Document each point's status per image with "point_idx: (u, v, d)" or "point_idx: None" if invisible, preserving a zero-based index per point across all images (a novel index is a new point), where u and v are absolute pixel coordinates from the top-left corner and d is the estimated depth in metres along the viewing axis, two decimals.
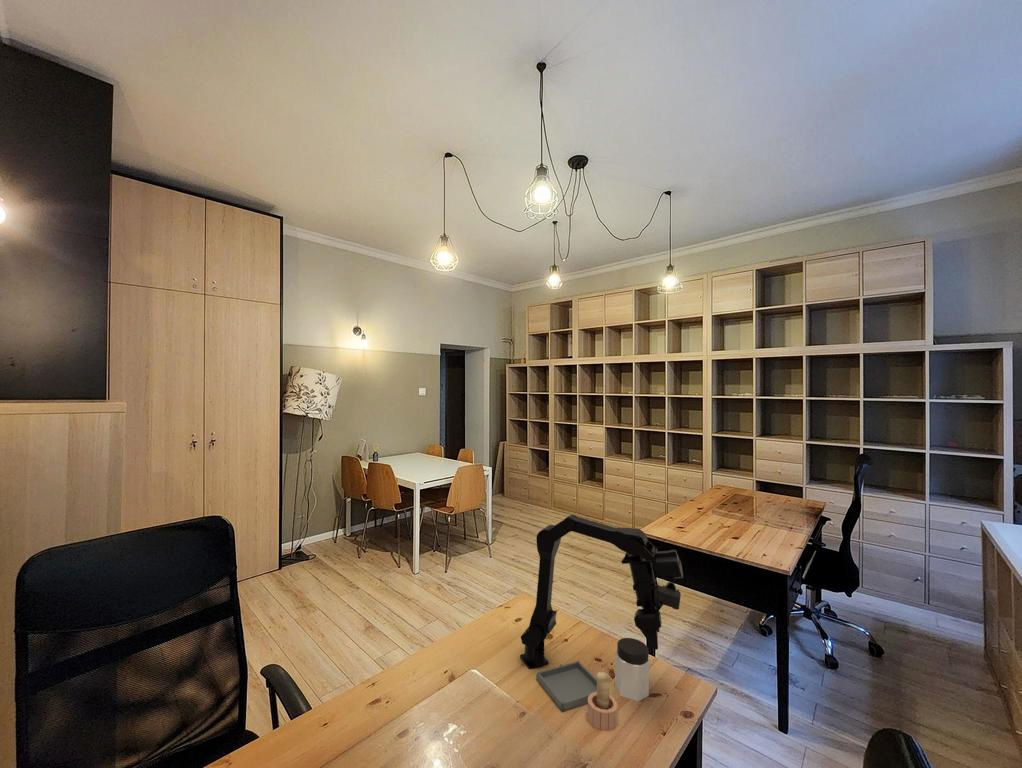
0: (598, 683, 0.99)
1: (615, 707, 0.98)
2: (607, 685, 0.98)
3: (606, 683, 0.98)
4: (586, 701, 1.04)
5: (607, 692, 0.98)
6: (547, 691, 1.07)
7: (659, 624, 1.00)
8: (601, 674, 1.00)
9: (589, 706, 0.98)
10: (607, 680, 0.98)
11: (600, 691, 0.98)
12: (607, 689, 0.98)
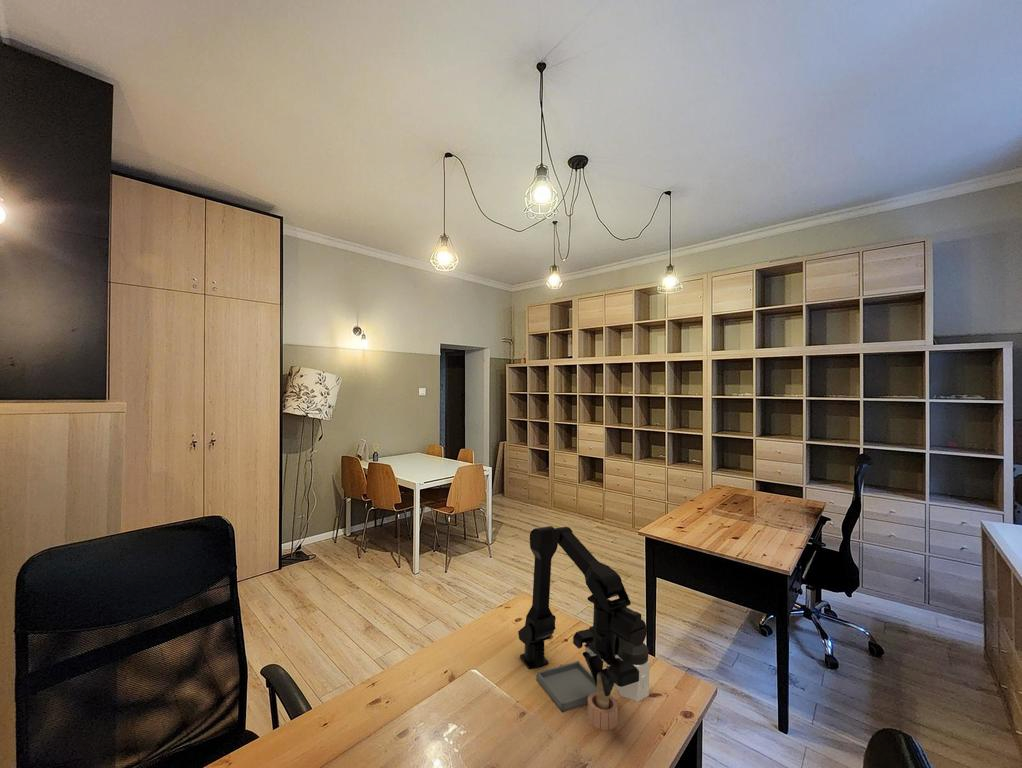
0: (598, 683, 0.99)
1: (615, 707, 0.98)
2: None
3: None
4: (586, 701, 1.04)
5: None
6: (547, 691, 1.07)
7: None
8: None
9: (589, 706, 0.98)
10: None
11: (600, 691, 0.98)
12: None
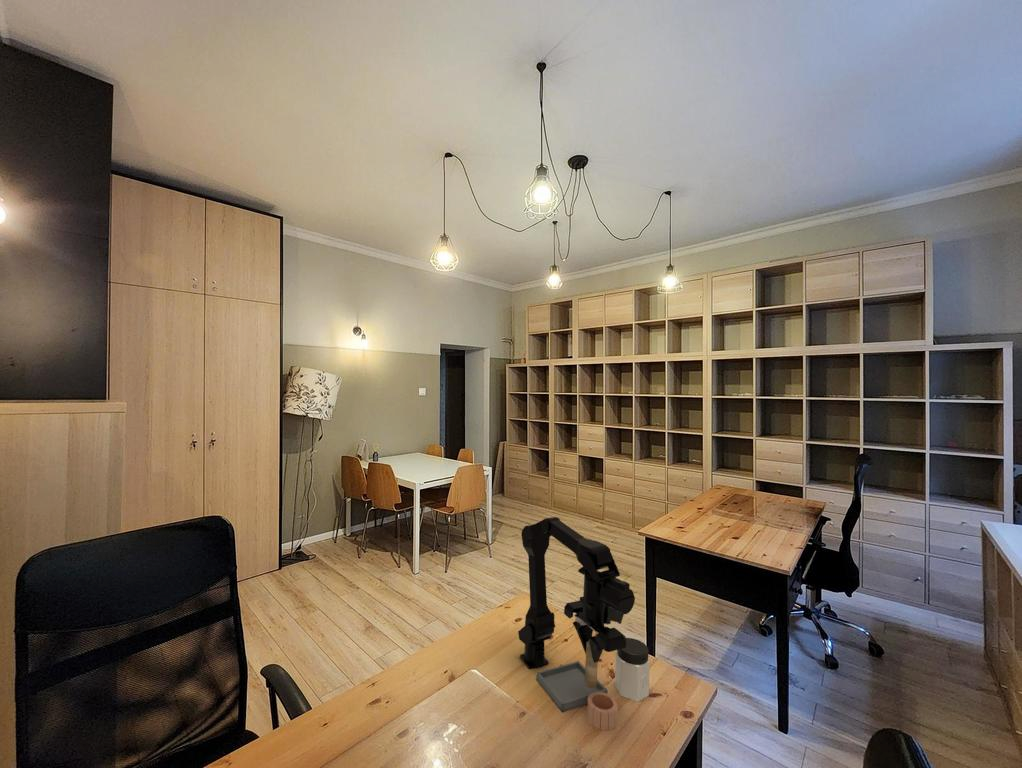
0: (587, 650, 1.03)
1: (615, 707, 0.98)
2: None
3: None
4: (586, 701, 1.04)
5: None
6: (547, 691, 1.07)
7: None
8: None
9: (589, 706, 0.98)
10: None
11: (589, 657, 1.02)
12: None
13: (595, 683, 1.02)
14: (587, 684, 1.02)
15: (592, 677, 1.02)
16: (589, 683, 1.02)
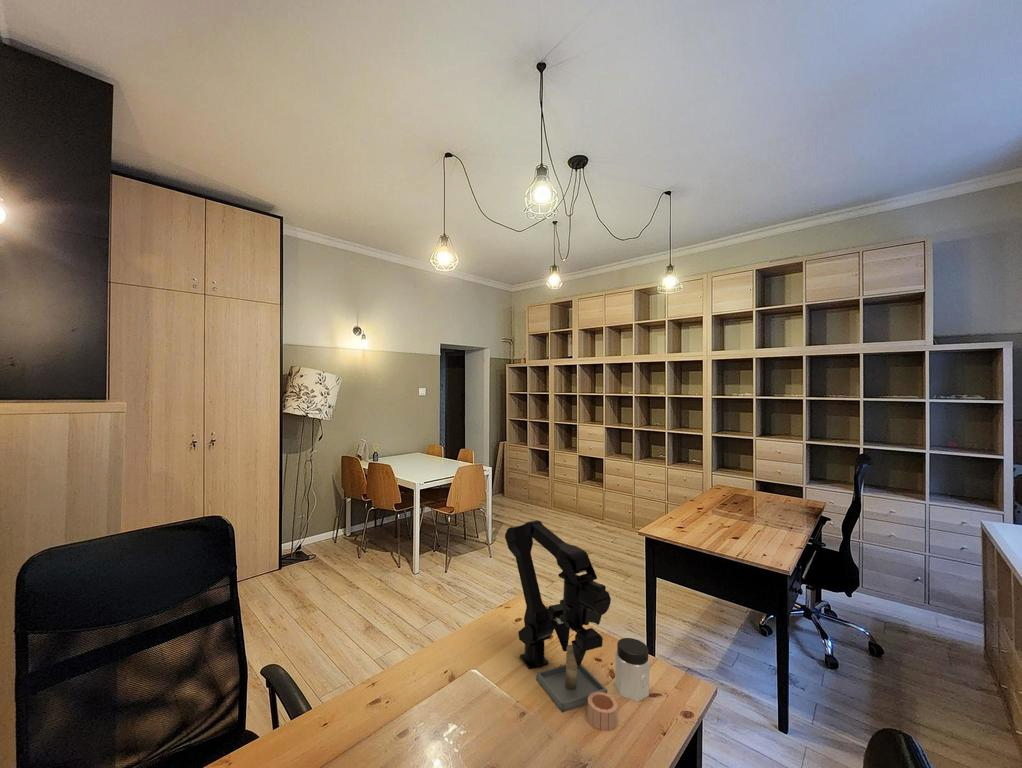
0: (567, 654, 1.09)
1: (615, 707, 0.98)
2: None
3: None
4: (586, 701, 1.04)
5: (575, 662, 1.09)
6: (547, 691, 1.07)
7: (602, 643, 1.03)
8: (571, 647, 1.11)
9: (589, 706, 0.98)
10: None
11: (569, 661, 1.09)
12: (575, 660, 1.09)
13: (575, 685, 1.09)
14: (567, 686, 1.09)
15: (572, 679, 1.08)
16: (569, 685, 1.08)
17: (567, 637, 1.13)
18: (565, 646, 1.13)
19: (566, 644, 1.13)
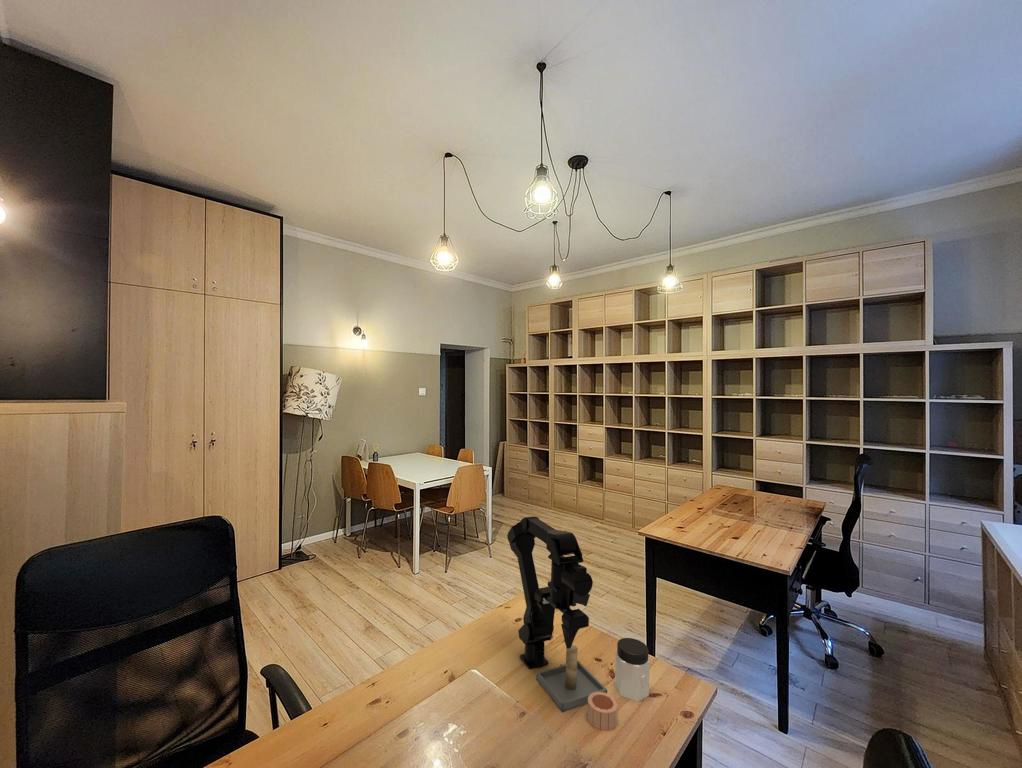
0: (567, 654, 1.09)
1: (615, 707, 0.98)
2: (575, 656, 1.09)
3: (574, 654, 1.09)
4: (586, 701, 1.04)
5: (575, 662, 1.09)
6: (547, 691, 1.07)
7: (588, 623, 1.04)
8: None
9: (589, 706, 0.98)
10: (575, 651, 1.09)
11: (569, 661, 1.09)
12: (575, 660, 1.09)
13: (575, 685, 1.09)
14: (567, 686, 1.09)
15: (572, 679, 1.08)
16: (569, 685, 1.08)
17: (552, 617, 1.15)
18: (550, 625, 1.15)
19: (551, 623, 1.15)
